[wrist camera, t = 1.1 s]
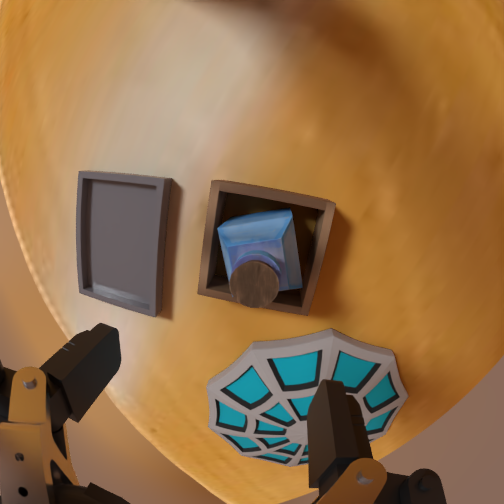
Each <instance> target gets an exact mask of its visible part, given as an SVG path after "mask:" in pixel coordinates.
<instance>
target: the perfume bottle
mask: <svg viewBox="0 0 504 504" xmlns="http://www.w3.org/2000/svg"><path fill="white" fill-rule="evenodd" d="M217 229H218V234H219V239H220V243H221V248H222V253H223V257H224V262H225V267H226V271H227V276H228V280H229V284H230V291H231V293H232V297H234V298H235V299H236V300H237V301H238V302H239V303H241V304H242V305H244V306H247V307H250V308H259V307H263V306H266V305H268V304H269V303H271V302H272V301H273V300H274V299H275V297H276V296H277V293H278V291H283V290H290V289H297V288H303V286H302V278H301V271H300V263H299V256H298V249H297V242H296V235H295V229H294V222H293V216H292V212H291V209H290V207H289V208H283V209H277V210H270V211H264V212H258V213H252V214H246V215H240V216H235V217H230V218H229V219H228V220H227V221H226V222H224V223H223V224H222V225H221V226H219V227H218V228H217Z"/></svg>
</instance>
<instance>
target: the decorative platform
mask: <svg viewBox="0 0 504 504" xmlns="http://www.w3.org/2000/svg"><path fill="white" fill-rule="evenodd" d="M323 379H327V380H336V381H342V382H343V384H344V388H345V392H346V395H353V396H354V397H355V399H356V400H357V401H358V403H359V404H360V407H361V410H362V414H363V416H362V417H363V418H364V422H365V425H364V426H366V430H367V434H368V439H369V443H371V442H373V441H374V440H376V439H378V438H380V437H382V436H383V435H385V434H386V432H387V430H388V429H389V427H390V425H391V423H392V421H393V419H394V418H395V416H396V414H397V413H398V411H399V410H400V408H401V407H402V405H403V404H404V402H405V401H406V399H407V398H408V394H407V391H406V389H405V388H404V386H403V384H402V382H401V380H400V377H399V373H398V369H397V365H396V360H395V356H394V354H393V352H392V350H390V349H386V348H381V347H377V346H373V345H369V344H366V343H363V342H360V341H357V340H355V339H353V338H350V337H348V336H346V335H344V334H342V333H340V332H338V331H336V330H334V329H332V328H331V329H327V330H324V331H321V332H317V333H313V334H309V335H305V336H301V337H296V338H290V339H283V340H274V341H260V342H253V343H252V344H251V345H250V346H249V348H248V349H247V350H246V351H245V352H244V353H243V354H242V355H241V356H240V357H239V358H238V359H237V360H236V361H235V362H234V363H233V364H231V365H230V366H229V367H228V368H226V369H225V370H224V371H222V372H221V373H219V374H218V375H216V376H215V377H213V378H212V379H210V380H209V381H208V384H207V387H206V388H207V393H208V399H209V408H210V415H209V424H208V427H209V428H210V429H211V430H212V431H214V432H215V433H216V434H218V435H219V436H220V437H222V438H223V439H224V440H225V441H226V442H228V443H229V444H230V445H231V446H232V447H233V448H234V449H235V450H236V451H237V452H238V453H239V454H240V455H242V456H246V457H251V458H255V459H260V460H265V461H269V462H273V463H277V464H281V465H285V466H289V467H291V466H298V465H305V464H308V436H307V413H308V408H309V405H310V403H311V401H312V399H313V397H314V395H315V393H316V391H317V389H318V387H319V384H320V382H321V381H322V380H323Z"/></svg>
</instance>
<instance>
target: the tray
mask: <svg viewBox="0 0 504 504" xmlns="http://www.w3.org/2000/svg"><path fill="white" fill-rule="evenodd" d="M171 182H172V178H165V177H156V176H147V175H137V174H127V173H115V172H103V171H79V175H78V188H77V207H76V250H77V270H78V283H79V293H81V294H84V295H87V296H89V297H92V298H95V299H98V300H101V301H104V302H107V303H110V304H113V305H116V306H119V307H122V308H125V309H128V310H132V311H135V312H138V313H142V314H145V315H148V316H152V317H156V316H157V315H158V314H159V313H160V312H161V310H162V287H163V267H164V251H165V238H166V226H167V216H168V207H169V198H170V189H171Z"/></svg>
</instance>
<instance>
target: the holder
mask: <svg viewBox="0 0 504 504" xmlns="http://www.w3.org/2000/svg"><path fill="white" fill-rule="evenodd" d="M227 192H230V193H236V194H242V195H248V196H254V197H260V198H265V199H271V200H276V201H281V202H286V203H292V204H297V205H302V206H306V207H311V208H316V209H319V210H318V215H317V219H316V224H315V229H314V233H313V238H312V242H311V247H310V251H309V255H308V260H307V264H306V268H305V272H304V276H303V280H302V286H303V288H300V291H297V290H292V289H290V290H283V291H278V293H277V296H276V297H275V299H274V300H273V301H272V302H271V303H269V304H268V305H266V306H263V307H261V308H266V309H272V310H277V311H283V312H288V313H294V314H300V315H306V316H308V314H309V311H310V307H311V304H312V300H313V296H314V293H315V289H316V285H317V282H318V278H319V274H320V270H321V266H322V262H323V258H324V254H325V250H326V246H327V242H328V238H329V233H330V229H331V224H332V220H333V215H334V211H335V206H336V203H334V202H332V201H330V200H328V199H323V198H318V197H314V196H309V195H304V194H299V193H294V192H289V191H284V190H279V189H273V188H268V187H262V186H257V185H251V184H245V183H239V182H232V181H226V180H212V181H211V188H210V195H209V202H208V209H207V216H206V224H205V231H204V239H203V248H202V256H201V265H200V274H199V284H198V294H199V295H203V296H208V297H213V298H217V299H222V300H226V301H231V302H236V303H239V302H238V301H237V300H236V299H235V298H234V297H232V293H231V291H230V284H229V280H228V277H225V276H220V275H215V273H216V265H217V258H218V250H219V243H220V239H219V234H218V229H217V228H218V227H219V226H221V225H222V222H223V215H224V209H225V202H226V196H227Z"/></svg>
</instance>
